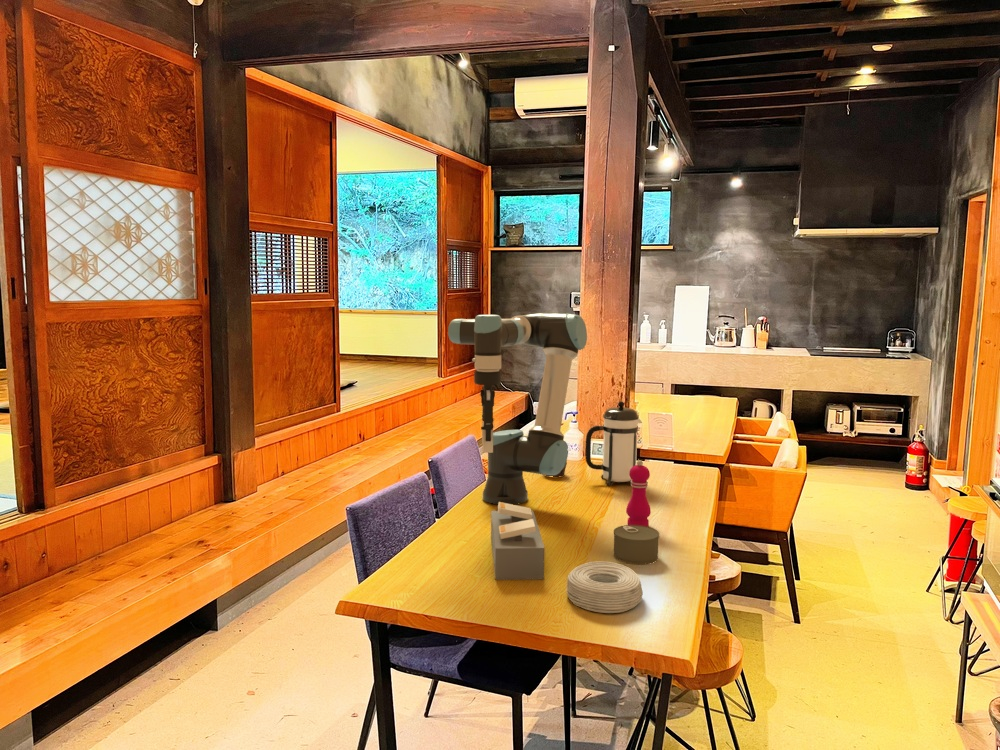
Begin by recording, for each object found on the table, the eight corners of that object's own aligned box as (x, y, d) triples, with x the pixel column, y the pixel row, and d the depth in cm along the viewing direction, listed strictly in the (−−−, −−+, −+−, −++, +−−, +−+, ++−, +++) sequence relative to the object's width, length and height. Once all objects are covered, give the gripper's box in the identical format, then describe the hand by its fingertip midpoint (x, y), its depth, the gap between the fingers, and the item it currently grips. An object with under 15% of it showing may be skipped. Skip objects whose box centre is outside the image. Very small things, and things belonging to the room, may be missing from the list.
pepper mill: (650, 529, 220) (652, 463, 218) (625, 528, 222) (627, 462, 219) (650, 522, 227) (652, 458, 225) (626, 520, 229) (628, 456, 226)
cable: (608, 578, 184) (609, 555, 184) (659, 604, 170) (659, 579, 169) (551, 594, 175) (552, 569, 174) (599, 622, 161) (600, 596, 160)
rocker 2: (499, 531, 192) (498, 525, 192) (533, 523, 192) (532, 518, 192) (501, 539, 186) (499, 533, 186) (536, 531, 186) (535, 525, 186)
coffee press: (612, 474, 284) (614, 396, 280) (647, 482, 273) (650, 401, 269) (583, 482, 272) (585, 401, 268) (619, 491, 261) (621, 406, 257)
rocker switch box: (490, 531, 218) (490, 500, 217) (531, 530, 219) (531, 500, 218) (495, 579, 183) (495, 543, 181) (544, 579, 183) (544, 543, 182)
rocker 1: (497, 506, 207) (498, 501, 206) (529, 512, 207) (530, 507, 207) (498, 513, 201) (499, 507, 200) (531, 519, 201) (532, 514, 201)
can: (629, 568, 191) (629, 542, 190) (604, 552, 202) (605, 528, 201) (667, 561, 196) (668, 536, 195) (641, 546, 207) (642, 522, 206)
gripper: (473, 365, 219) (473, 439, 222) (474, 374, 197) (474, 457, 200) (499, 365, 220) (498, 439, 223) (503, 374, 198) (502, 457, 200)
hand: (487, 448), depth 211 cm, fingers open, 10 cm apart
